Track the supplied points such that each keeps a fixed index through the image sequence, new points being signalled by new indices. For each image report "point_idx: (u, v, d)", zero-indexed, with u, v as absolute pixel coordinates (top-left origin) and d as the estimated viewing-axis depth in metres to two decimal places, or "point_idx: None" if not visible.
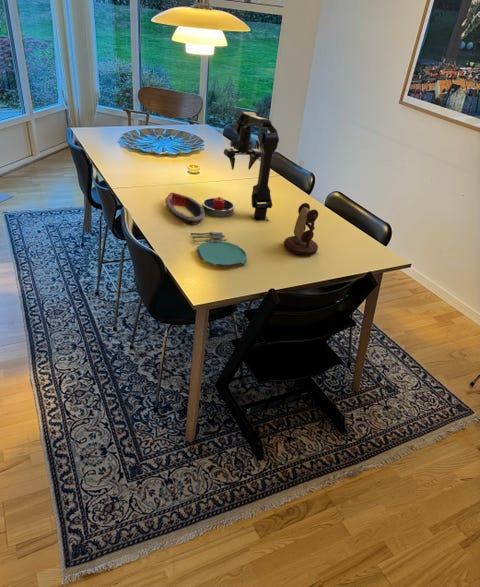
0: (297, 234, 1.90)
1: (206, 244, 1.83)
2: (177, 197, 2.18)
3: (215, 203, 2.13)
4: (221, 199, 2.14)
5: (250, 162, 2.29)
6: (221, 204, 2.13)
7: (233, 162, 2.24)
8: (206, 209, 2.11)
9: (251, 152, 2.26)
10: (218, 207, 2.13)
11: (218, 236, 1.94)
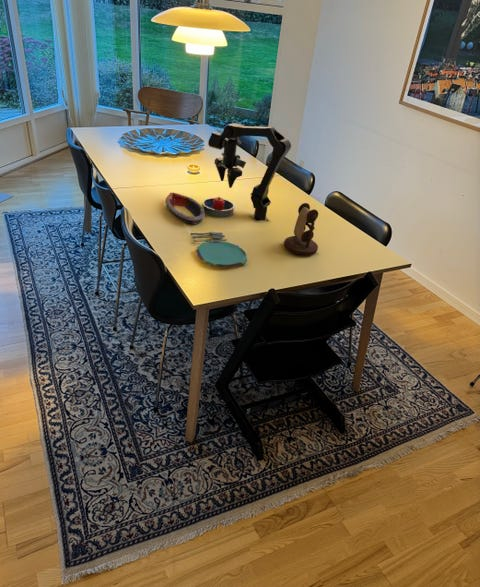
0: (297, 234, 1.90)
1: (206, 244, 1.83)
2: (177, 197, 2.18)
3: (215, 203, 2.13)
4: (221, 199, 2.14)
5: None
6: (221, 204, 2.13)
7: (218, 171, 2.17)
8: (206, 209, 2.11)
9: None
10: (218, 207, 2.13)
11: (218, 236, 1.94)
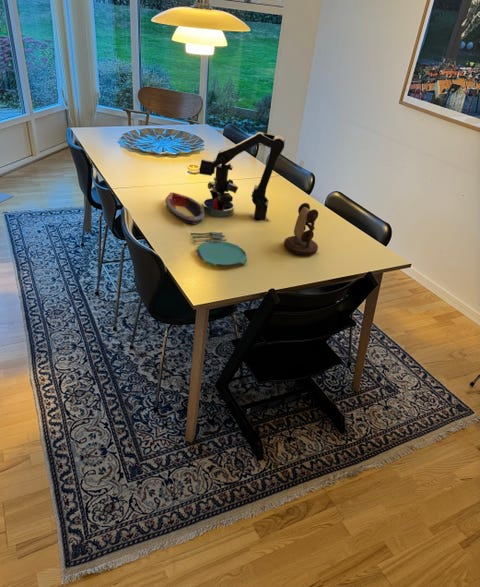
0: (297, 234, 1.90)
1: (206, 244, 1.83)
2: (177, 197, 2.18)
3: (215, 203, 2.13)
4: None
5: None
6: None
7: (212, 197, 2.16)
8: (206, 209, 2.11)
9: None
10: None
11: (218, 236, 1.94)
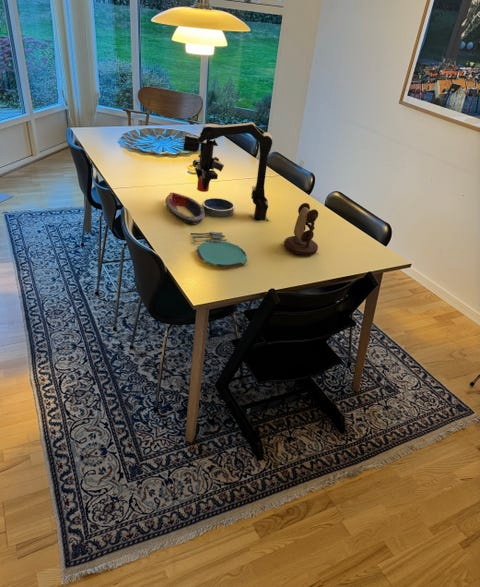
0: (297, 234, 1.90)
1: (206, 244, 1.83)
2: (177, 197, 2.18)
3: (200, 181, 2.05)
4: None
5: None
6: None
7: (197, 175, 2.08)
8: (206, 209, 2.11)
9: None
10: None
11: (218, 236, 1.94)
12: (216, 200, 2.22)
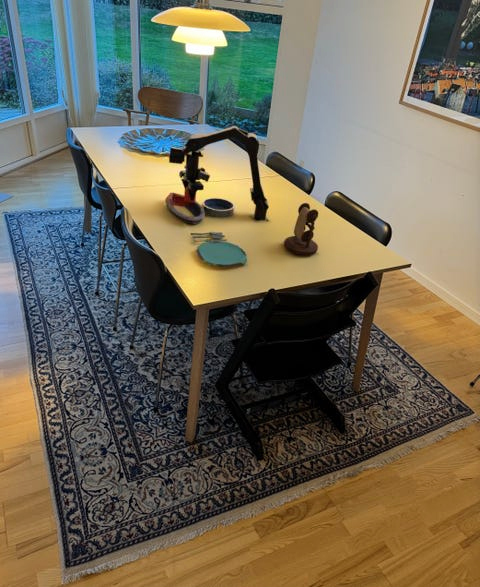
0: (297, 234, 1.90)
1: (206, 244, 1.83)
2: (177, 197, 2.18)
3: (186, 192, 2.06)
4: None
5: None
6: None
7: None
8: (206, 209, 2.11)
9: None
10: (189, 196, 2.07)
11: (218, 236, 1.94)
12: (216, 200, 2.22)
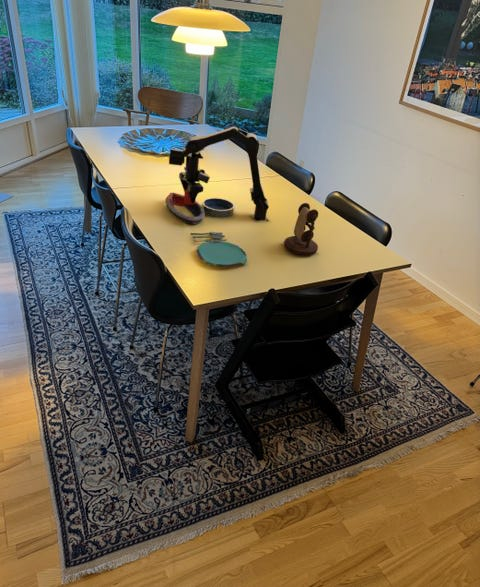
0: (297, 234, 1.90)
1: (206, 244, 1.83)
2: (177, 197, 2.18)
3: (186, 194, 2.07)
4: None
5: None
6: None
7: None
8: (206, 209, 2.11)
9: None
10: (189, 198, 2.07)
11: (218, 236, 1.94)
12: (216, 200, 2.22)
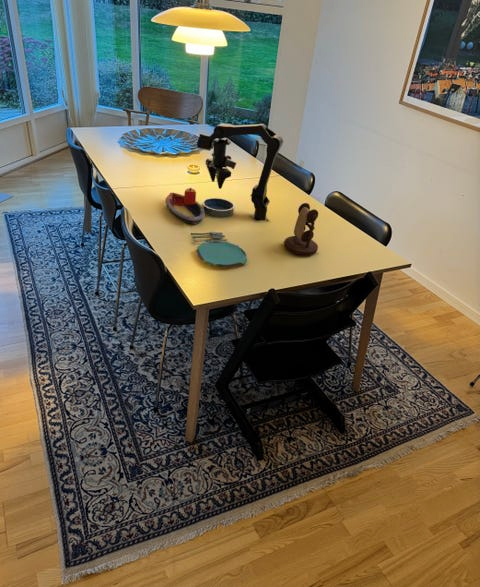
0: (297, 234, 1.90)
1: (206, 244, 1.83)
2: (177, 197, 2.18)
3: (186, 194, 2.07)
4: (192, 190, 2.08)
5: None
6: (192, 195, 2.07)
7: (209, 172, 2.16)
8: (206, 209, 2.11)
9: None
10: (189, 198, 2.07)
11: (218, 236, 1.94)
12: (216, 200, 2.22)
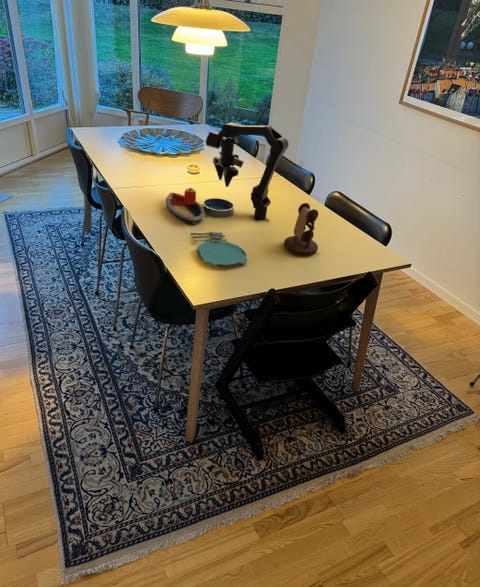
0: (297, 234, 1.90)
1: (206, 244, 1.83)
2: (177, 197, 2.18)
3: (186, 194, 2.07)
4: (192, 190, 2.08)
5: None
6: (192, 195, 2.07)
7: (216, 170, 2.18)
8: (206, 209, 2.11)
9: None
10: (189, 198, 2.07)
11: (218, 236, 1.94)
12: (216, 200, 2.22)
